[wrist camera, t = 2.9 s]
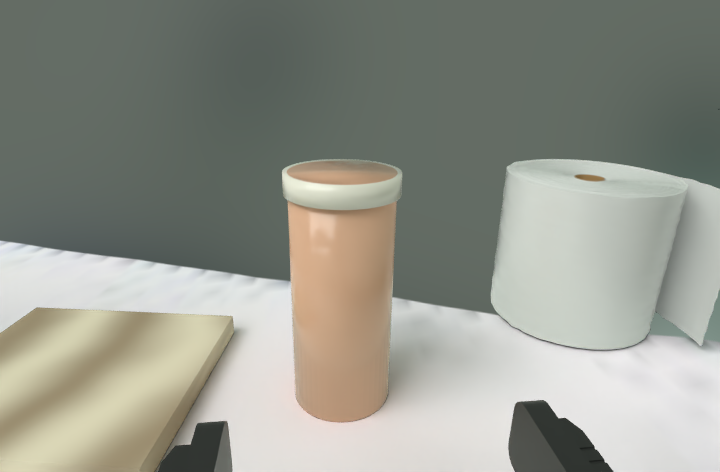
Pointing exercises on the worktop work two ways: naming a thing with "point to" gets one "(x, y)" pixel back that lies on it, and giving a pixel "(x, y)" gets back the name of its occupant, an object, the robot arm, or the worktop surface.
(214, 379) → the worktop surface
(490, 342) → the worktop surface
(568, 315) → the toilet tissue
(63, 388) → the birch board
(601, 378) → the worktop surface
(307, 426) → the worktop surface
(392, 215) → the terracotta jar
